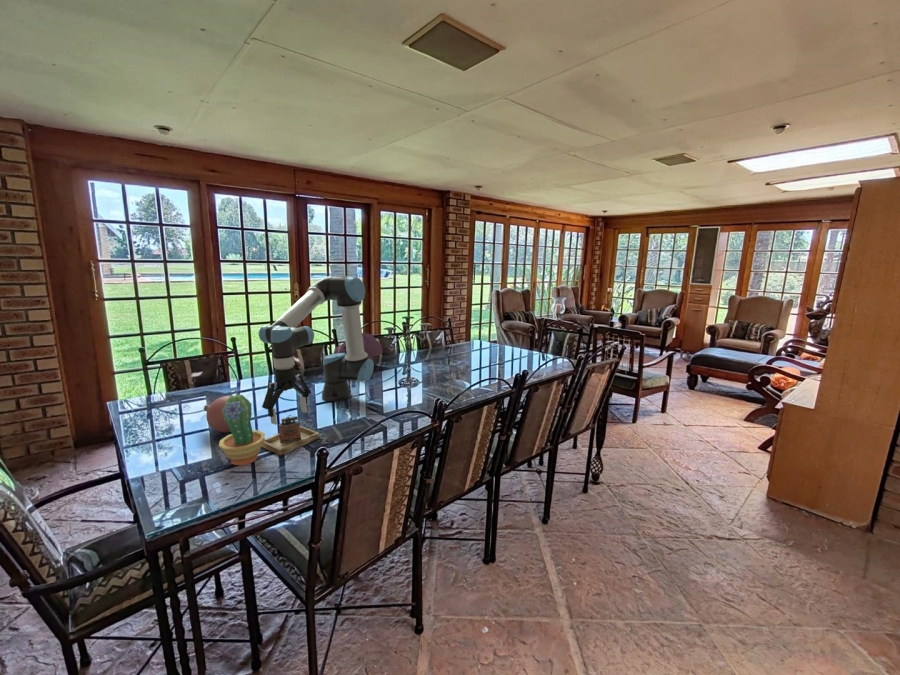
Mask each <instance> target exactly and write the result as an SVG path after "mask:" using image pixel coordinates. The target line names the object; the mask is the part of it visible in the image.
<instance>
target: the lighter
mask: <svg viewBox="0 0 900 675" xmlns="http://www.w3.org/2000/svg"><path fill="white" fill-rule="evenodd" d="M280 420H281V421H280V422H281V423H278V430H279V433H280V443H289V442H295V441H299V440H301V434H300V426H301V421H300V420H299V417H298V416H297V415H296V416H291V417H290V416H287V417H285V418H281V419H280Z"/></svg>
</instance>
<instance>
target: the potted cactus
mask: <svg viewBox="0 0 900 675" xmlns="http://www.w3.org/2000/svg"><path fill="white" fill-rule="evenodd" d="M229 396H230V397H229V398H228V400H227V402H226V404H225V405H224V407H223V409H222V411H223V412H222V413H223V416H224V420H225V422H226V423H227V425H228V426H229V428H230V430H231V432H230V433H231V434H228V435H226V436H225V437H223V438H222V439H220V440H219V442H218V443H219V444H218V447H219V449H220V450H222V451H223V453H224V454H225V456H226V457H227V458H229V460H231V461H230V463H231V464H233V466H243V465H249V464H251V463H253V462H255V461H256V460H257V459H258V457H259V455H258V454H259V453H260V451H261V448H262V447H261V446H262V443H263V442H264V440H265V439H266V433H265V432H263V431H261V430H253V428H252V423H251V419H252V403H251V401H250V400H249V399H248V398H246V396H244V395H243V393H242V394H238V393H236V394H235V395H233V394H231V395H229Z"/></svg>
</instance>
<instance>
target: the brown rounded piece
mask: <svg viewBox="0 0 900 675" xmlns="http://www.w3.org/2000/svg"><path fill="white" fill-rule="evenodd" d="M230 396H231V395H224V396H220V397H218V398H217V399H214V401H212V402H211V403H210V404H204V407H203V411H204V412H206V422H207V424H208V426H209V427H210V428H211V429H213V430H214V431H215V432H219V433H231V430H230V428H229V426H228V425H227V423H226V422H225V420H224V416H223V413H222V412H223V411H222V409H223V407H224V405H225V404H226V402H227V400H228V398H229V397H230Z"/></svg>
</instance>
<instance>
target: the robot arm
mask: <svg viewBox="0 0 900 675" xmlns="http://www.w3.org/2000/svg"><path fill="white" fill-rule="evenodd" d="M365 297H366V288H365V285H364V282H363V281H362V279H360V278H359V277H357V276H350V275H349V276H348V275H342V276H341V275H340V276H339V275H329V276H325V277H323V278H321V279H319V280H317V281H316V282H314V283H313V284H311V285H310V286H309V287H308V288H307V289H306V292H305V294H304V295H303V296H301V297H300V298H299V299H298V300H297V301H296V302H295V303H294V304H293V305H291V307H290V308H289V309H288V310H286V311H285V312H284V313H283V314H281V316H280V317H278V318H277V319H276V320H275V321H274V322H273V323H272V324H268V325H266V324H265V325H263V326H260V329H259V331H258V338H259V340H260V341H261V342H262V343H265V344H270V345H271V350H272V360H273V361H272V362H273V367H274V368H273V370H274V377H275V382H270V381H269V382H268V383H267V391H266V394H265V395H264V396H265V397H264V399H263V403H262V404H261V405H262V406H261V408H262V409H265V410H267V414H268V417H269V418H270V423H271V424H272V425H275V426H276V425H278V420H277V412H276V408H275V406H276V404H277V402H278V400H279V399H280V397H281V395H282V394H283V392H286V391H288V390H292V389H294V391H296V392H297V393H298V394H299V395H300V396H299V402H300V411H301V412H302V413H306V414H307V411H308V409H307V404H308V398H309V396H310V395H311V393H312V391H311V390H310V388H309V386H308V384H307V383H306V381H305V380H304V377H303V374H301V373H296V366H295V365H296V363H295V354H294V350H295V349H298V348H300V347H304V346H307V345H309V344H311V343H312V342H314V339H315V332H314V330H313V329H312V328H311V327H310V326H308V325H306V326H305V325H304V326H300V327H298V325H300V324H301V323H302V322H303V321H304V320H305V318H307V317H308V316H309V315H310V314H311V313H312V312H313V311H314V310H315V309H316V308H317V307H318V306H321V305H323V304H324V303H325V302H327V301H336V305H337V307H338V308H340V311H341V319H342V325H343V332H344V334H343V335H344V339H345V341H344V342H346V349H347V354H345V353H336V354H334V353H332V354H327V355H326V356H324V357H323V361H322V362H323V363H322V366H323V378H324V385H323V389H322V392H321V399H322V400H323V401H326V402H340V401H344V400H347V399H350V398H351V397H352V391H351V388H350V385H349V383H348V381H354V382H358V383H359V382H367V381H369V380H370V378H371V377H372V376H373V373H374V367H375V365H374V364H375V363H374V360H373V361H372V360H371V359H368V354H367V353H366V352H364V345H363V336H362V333H363V331H362V330H363V329H362V322H361V313H360V306H361V305H362V301H363V300H364V299H365ZM296 381H297V382H298V384H299V385H300V386H301V387H299V385H298V384H296Z"/></svg>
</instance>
